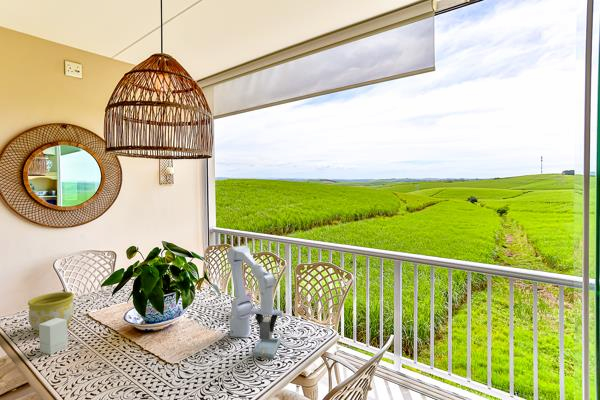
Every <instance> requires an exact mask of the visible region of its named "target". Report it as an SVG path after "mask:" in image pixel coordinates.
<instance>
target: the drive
mask: <svg viewBox="0 0 600 400" xmlns="http://www.w3.org/2000/svg"><path fill="white" fill-rule="evenodd" d="M271 317H272V315H267V316H263V319H262V320H261V322H260V328H259V339H267V340H270V338H271V336H272V337H273V334H274V332H275V329H274V330H273V332H271Z"/></svg>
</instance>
